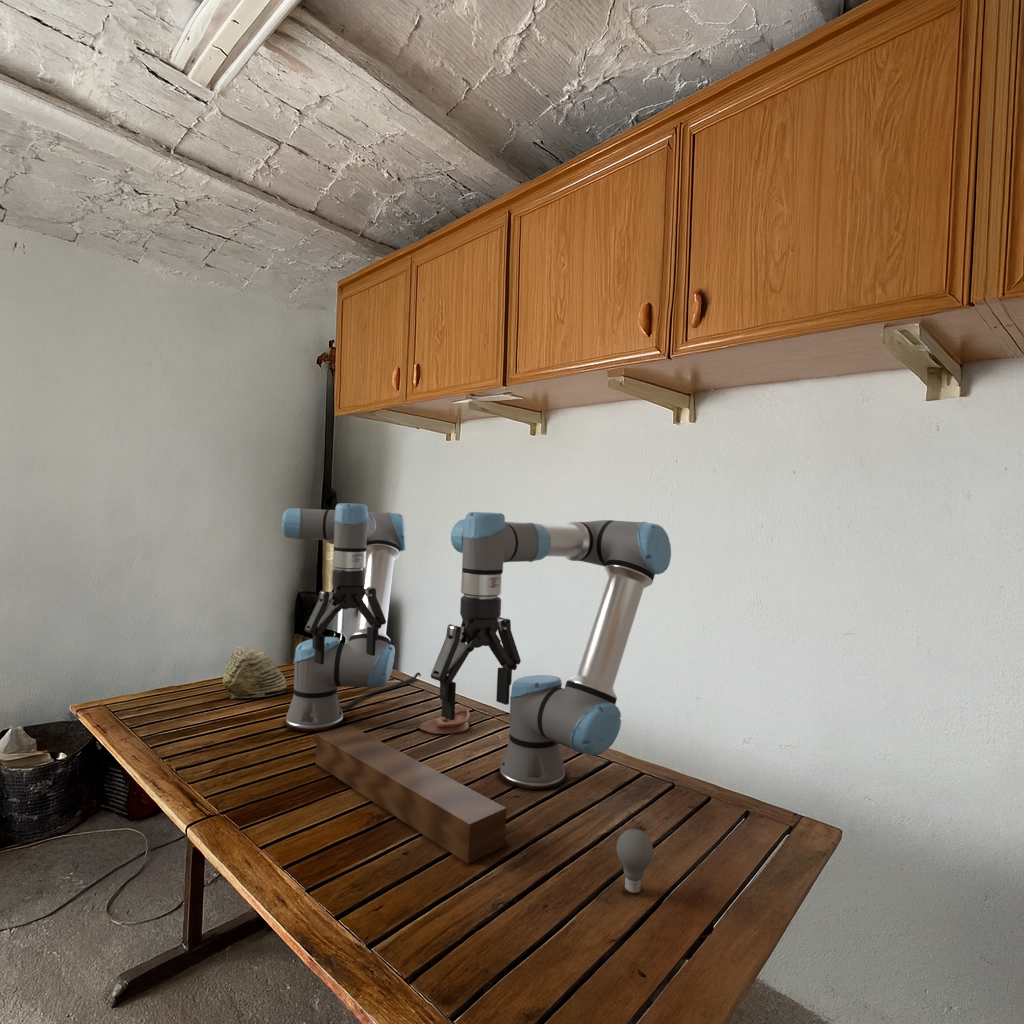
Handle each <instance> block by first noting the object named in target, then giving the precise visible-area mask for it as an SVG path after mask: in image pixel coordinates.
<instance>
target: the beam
mask: <svg viewBox="0 0 1024 1024" xmlns="http://www.w3.org/2000/svg"><path fill="white" fill-rule="evenodd" d="M315 738H316V739H315V765H316V766H318V767H319V768H321V769H323V770H324V771H326V772H327V773H329V774H330V775H332V776H333V777H334V778H337V779H338V780H339V781H341V782H342V783H344V784H345V785H347V786H349V787H350V788H352V789H353V790H354V791H356V792H357V793H359V794H361V795H362V796H364V797H365V798H367V799H368V800H369V801H371V802H372V803H374V804H376V805H377V806H378V807H381V808H382V809H383V810H385V811H387V812H388V813H389V814H391V815H393V816H394V817H396V818H397V819H399V820H400V821H402V822H403V823H404V824H406V825H407V826H409V827H411V828H412V829H414V830H416V831H417V832H419V833H420V834H422V835H423V836H425V837H426V838H428V839H429V840H431V841H432V842H433V843H436V844H437V845H438V846H440V847H441V848H443V849H444V850H446V851H448V852H449V853H451V854H452V855H453V856H455V857H457V858H458V859H459V860H461V861H463V862H464V863H466V864H467V865H469V864H472V863H473V862H475V861H477V860H479V859H481V858H483V857H485V856H487V855H489V854H492V853H493V852H495V851H497V850H499V849H501V848H503V847H505V846H506V829H507V828H506V827H507V807H505V806H504V805H502V804H500V803H499V802H496V801H494V800H493V799H491V798H488V797H486V796H484V795H483V794H481V793H479V792H477V791H476V790H473V789H472V788H470V787H468V786H467V785H464V784H462V783H460V782H459V781H456V780H454V779H453V778H451V777H450V776H447V775H445V774H444V773H442V772H439V771H438V770H436V769H433V768H432V767H430V766H428V765H426V764H425V763H423V762H422V761H421V762H420V761H418V760H417V759H415V758H413V757H411V756H409V755H407V754H405V753H404V752H402V751H400V750H398V749H396V748H394V747H392V746H390V745H388V744H387V743H385V742H382V741H381V740H379V739H377V738H375V737H374V736H371V735H369V734H368V733H366V732H364V731H362V730H360V729H358V728H356V727H354V726H352V725H346V726H342V727H338V728H333V729H329V730H325V731H321V732H319V733H316V737H315Z"/></svg>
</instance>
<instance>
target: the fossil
mask: <svg viewBox="0 0 1024 1024" xmlns="http://www.w3.org/2000/svg"><path fill="white" fill-rule="evenodd" d="M222 676H223V677H222V685H223V687H224V688H225V690H226V691H228V693H229V698H230V699H250V698H264V697H271V696H275V695H281V694H284V693H285V691H286V689H287V687H288V686H287V680H286V678H285V676H284V674H283V673H282V672H281V669H279V668H278V667H277V665H276V663H275V662H274V660H273V659H272V658H271V657H270V656H269V655H268V654H267V653H266V652H265V650H264V649H263V648H260V647H258V648H251V647H247V646H246V647H245V646H238V647H237V648H236V649H235V650H233V651H232V653H231V656H230V657H229V659H228V660H227V663H226V666H225V668H224V671H223V675H222Z"/></svg>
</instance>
